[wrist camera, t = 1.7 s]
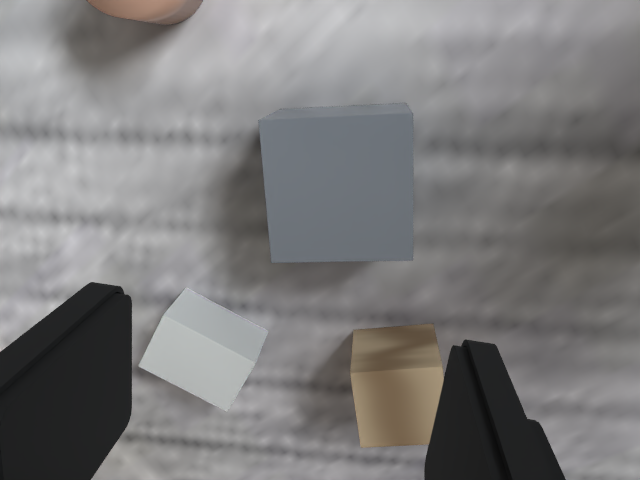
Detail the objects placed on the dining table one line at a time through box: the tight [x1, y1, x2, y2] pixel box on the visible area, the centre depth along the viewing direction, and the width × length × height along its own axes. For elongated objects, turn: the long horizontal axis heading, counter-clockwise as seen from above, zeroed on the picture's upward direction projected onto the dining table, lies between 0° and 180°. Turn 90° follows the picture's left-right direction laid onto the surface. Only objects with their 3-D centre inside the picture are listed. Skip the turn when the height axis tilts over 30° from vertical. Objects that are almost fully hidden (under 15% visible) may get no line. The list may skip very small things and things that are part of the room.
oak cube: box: [350, 324, 444, 448], centre depth 32 cm, size 5×5×5 cm
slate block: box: [258, 103, 413, 263], centre depth 28 cm, size 7×7×6 cm
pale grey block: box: [139, 288, 268, 412], centre depth 33 cm, size 6×4×4 cm, turn 62°
